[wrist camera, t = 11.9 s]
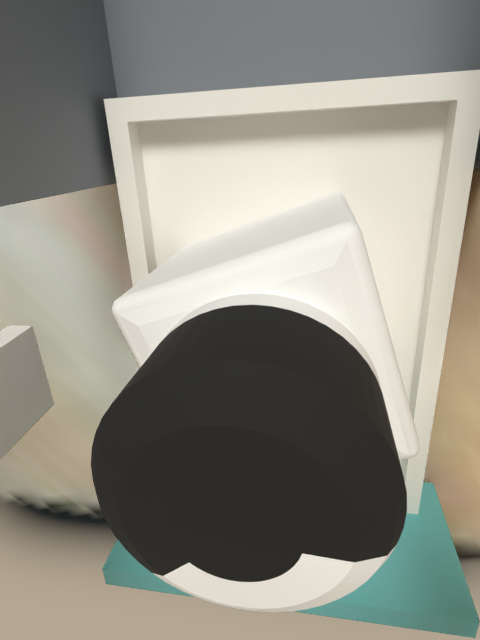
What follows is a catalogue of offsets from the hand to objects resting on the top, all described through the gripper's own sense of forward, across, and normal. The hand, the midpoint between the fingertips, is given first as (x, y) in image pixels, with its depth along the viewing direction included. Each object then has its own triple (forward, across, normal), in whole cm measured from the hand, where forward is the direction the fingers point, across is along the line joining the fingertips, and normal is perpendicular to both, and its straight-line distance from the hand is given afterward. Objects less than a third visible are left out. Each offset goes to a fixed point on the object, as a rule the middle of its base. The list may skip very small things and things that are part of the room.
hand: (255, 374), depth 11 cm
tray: (+9, 0, -2) cm, 9 cm away
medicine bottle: (+7, 0, 0) cm, 7 cm away
